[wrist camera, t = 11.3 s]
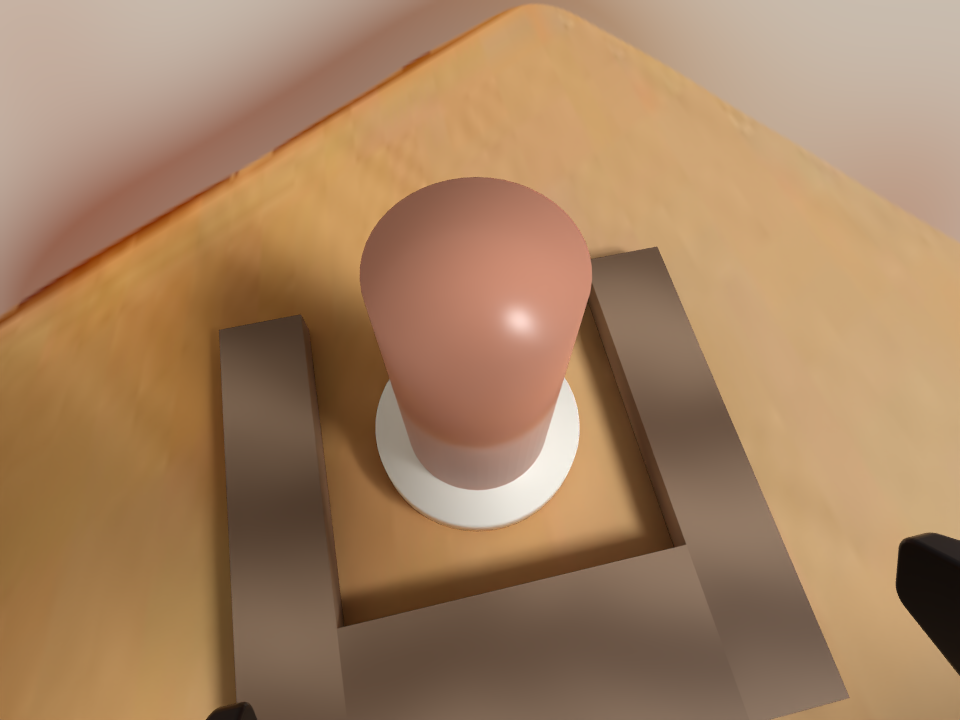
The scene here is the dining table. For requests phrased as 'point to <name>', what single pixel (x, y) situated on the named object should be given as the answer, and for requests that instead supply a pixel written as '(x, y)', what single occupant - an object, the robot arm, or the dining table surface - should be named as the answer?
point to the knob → (476, 348)
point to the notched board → (535, 605)
